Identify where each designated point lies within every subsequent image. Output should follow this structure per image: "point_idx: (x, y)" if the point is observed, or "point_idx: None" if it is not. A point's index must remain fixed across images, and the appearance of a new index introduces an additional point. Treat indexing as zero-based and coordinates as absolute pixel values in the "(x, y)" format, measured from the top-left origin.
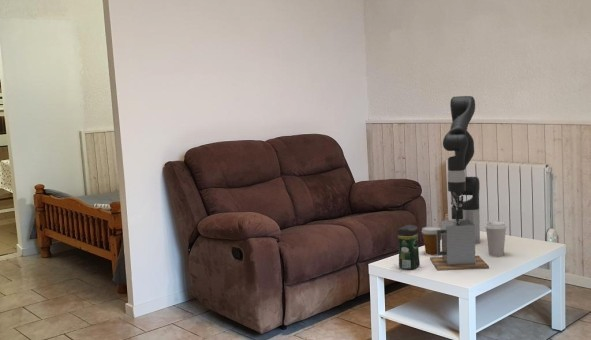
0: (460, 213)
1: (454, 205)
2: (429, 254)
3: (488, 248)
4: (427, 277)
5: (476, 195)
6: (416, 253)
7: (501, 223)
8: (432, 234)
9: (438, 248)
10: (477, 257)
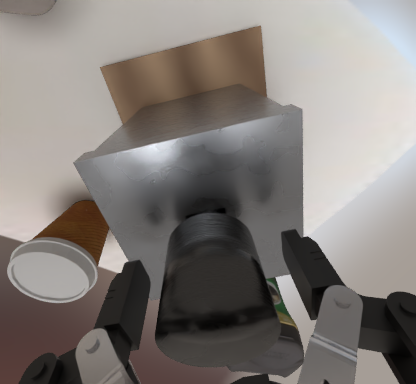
0: (331, 272)
1: (123, 359)
2: None
3: (23, 12)
4: (331, 210)
5: None
6: None
7: None
8: (94, 262)
9: None
10: (134, 73)
